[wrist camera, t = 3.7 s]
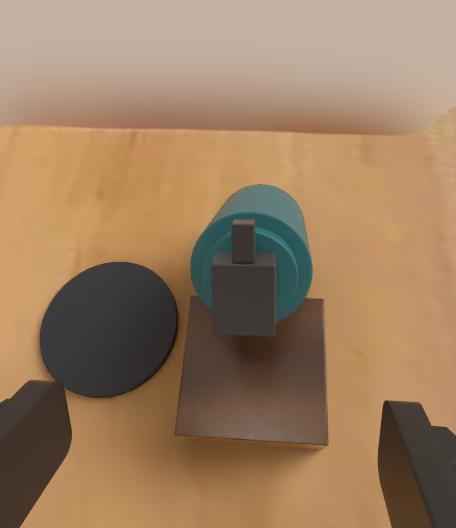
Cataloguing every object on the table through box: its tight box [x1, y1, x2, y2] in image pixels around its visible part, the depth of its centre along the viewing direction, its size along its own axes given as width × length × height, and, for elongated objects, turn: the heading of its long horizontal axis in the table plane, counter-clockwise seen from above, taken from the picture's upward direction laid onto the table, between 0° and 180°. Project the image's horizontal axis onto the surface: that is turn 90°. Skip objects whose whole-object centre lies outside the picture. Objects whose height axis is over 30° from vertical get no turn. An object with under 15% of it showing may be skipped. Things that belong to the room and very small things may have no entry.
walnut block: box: [175, 296, 328, 449], centre depth 25 cm, size 8×8×4 cm
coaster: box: [40, 262, 178, 398], centre depth 29 cm, size 10×10×1 cm
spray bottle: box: [191, 184, 312, 337], centre depth 24 cm, size 12×6×13 cm, turn 176°
